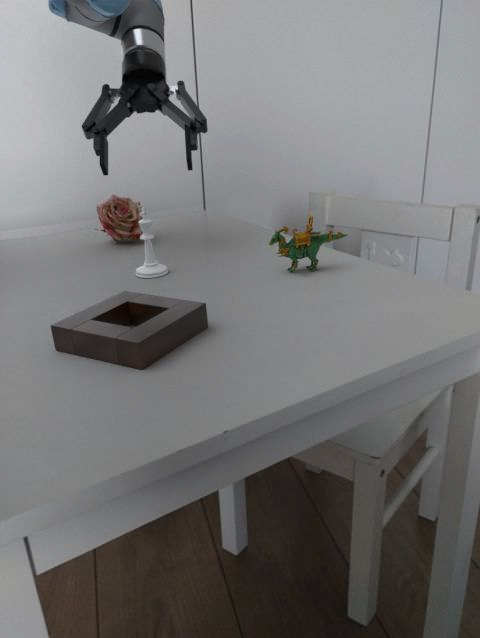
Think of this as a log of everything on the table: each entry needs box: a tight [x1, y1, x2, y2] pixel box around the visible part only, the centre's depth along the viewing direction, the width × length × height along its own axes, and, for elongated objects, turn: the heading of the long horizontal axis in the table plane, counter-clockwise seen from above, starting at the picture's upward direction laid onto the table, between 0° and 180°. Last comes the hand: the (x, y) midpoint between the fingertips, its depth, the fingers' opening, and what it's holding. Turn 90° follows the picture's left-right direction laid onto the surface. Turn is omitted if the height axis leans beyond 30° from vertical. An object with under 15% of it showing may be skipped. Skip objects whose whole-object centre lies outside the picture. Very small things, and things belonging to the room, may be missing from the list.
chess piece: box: [135, 206, 169, 279], centre depth 86 cm, size 5×5×10 cm
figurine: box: [268, 214, 349, 274], centre depth 84 cm, size 3×12×8 cm, turn 100°
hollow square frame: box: [50, 290, 209, 371], centre depth 64 cm, size 12×12×3 cm
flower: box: [94, 194, 143, 246], centre depth 107 cm, size 10×9×8 cm
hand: (146, 167), depth 91 cm, fingers open, 13 cm apart
